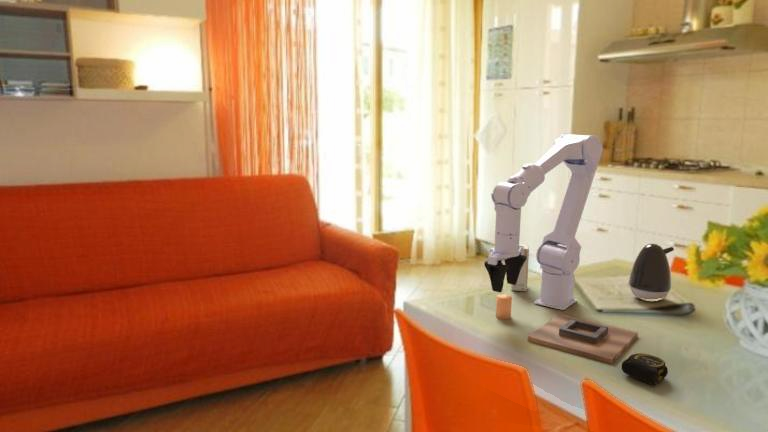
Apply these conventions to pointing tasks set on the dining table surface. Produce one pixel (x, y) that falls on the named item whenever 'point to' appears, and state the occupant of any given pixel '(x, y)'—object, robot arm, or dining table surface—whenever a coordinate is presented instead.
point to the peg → (503, 306)
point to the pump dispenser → (651, 273)
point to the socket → (584, 337)
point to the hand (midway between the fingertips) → (504, 287)
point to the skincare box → (522, 272)
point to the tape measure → (645, 368)
